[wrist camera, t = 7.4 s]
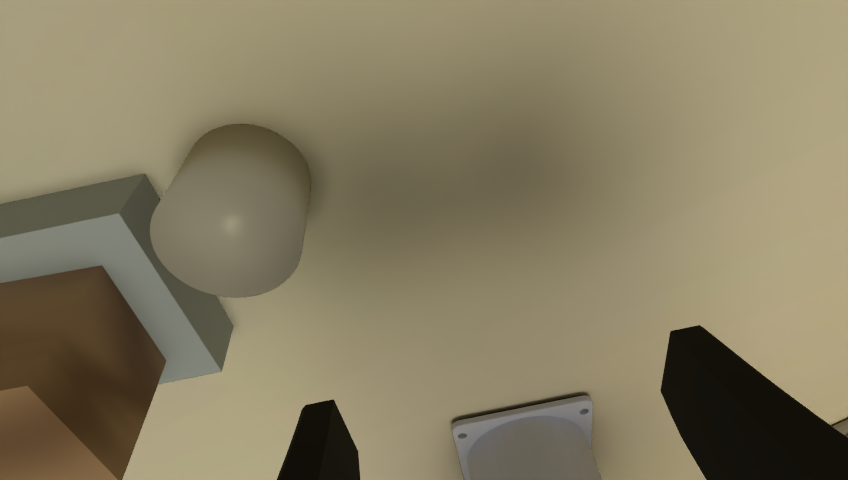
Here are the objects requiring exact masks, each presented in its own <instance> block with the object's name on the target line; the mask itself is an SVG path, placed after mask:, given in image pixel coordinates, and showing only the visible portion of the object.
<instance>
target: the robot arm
mask: <svg viewBox="0 0 848 480" xmlns="http://www.w3.org/2000/svg"><path fill="white" fill-rule="evenodd" d="M661 393H662V395H663V397H664V400H665V402H666V404H667V407H668V409H669V411H670V413H671V416H672V418H673V420H674V422H675V424H676V426H677V429H678V431H679V433H680V435H681V437H682V439H683V441H684V442H685V444H686V446H687V448H688V449H689V451H690V453H691V454H692V456H693V458H694V459H695V461H696V463H697V464H698V466H699V468H700V470H701V471H702V473H703V475H704V476H705V478H706V480H848V437H846V436H845V435H844V434H842V433H841V432H839V431H838V430H836V429H835V428H833V427H832V426H831V425H829V424H828V423H826V422H825V421H824V420H822V419H821V418H819V417H818V416H817V415H815V414H814V413H813V412H811V411H810V410H809V409H807V408H806V407H804V406H803V405H802V404H800V403H799V402H798V401H796V400H795V399H794V398H792V397H791V396H790V395H788V394H787V393H786V392H784V391H783V390H782V389H780V388H779V387H778V386H776V385H775V384H774V383H772V382H771V381H770V380H769V379H767V378H766V377H765V376H763V375H762V374H761V373H760V372H758V371H757V370H756V369H754V368H753V367H752V366H751V365H749V364H748V363H747V362H746V361H744V360H743V359H742V358H741V357H739V356H738V355H737V354H735V353H734V352H733V351H732V350H730V349H729V348H728V347H727V346H726V345H724V344H723V343H722V342H721V341H719V340H718V339H717V338H716V337H714V336H713V335H712V334H711V333H709V332H708V331H707V330H706V329H704V328H703V327H701V326H700V325H699V326H694V327H689V328H684V329H679V330H674V331H671V332H670V338H669V344H668V350H667V356H666V362H665V368H664V374H663V380H662V386H661ZM592 414H593V403H592V400H591V398H590V397H589V396H585V395H584V396H578V397H573V398H568V399H563V400H558V401H553V402H548V403H543V404H538V405H533V406H528V407H523V408H518V409H513V410H508V411H503V412H498V413H493V414H488V415H483V416H478V417H473V418H468V419H463V420H459V421H456V422H454V423H453V424H452V432H453V436H454V440H455V444H456V448H457V452H458V456H459V460H460V464H461V468H462V472H463V476H464V480H602V477H601V475H600V472H599V470H598V467H597V465H596V462H595V460H594V457H593V455H592V452H591V439H592ZM277 480H360V471H359V458H358V450H357V448H356V446H355V444H354V442H353V440H352V438H351V435H350V433H349V431H348V429H347V427H346V425H345V423H344V421H343V418H342V416H341V414H340V412H339V410H338V408H337V406H336V403H335V401H334V399H333V400H329V401H324V402H319V403H314V404H309V405H305V407H304V408H303V409H302V411H301V414H300V417H299V421H298V424H297V426H296V429H295V432H294V435H293V438H292V441H291V444H290V446H289V449H288V452H287V455H286V457H285V460H284V462H283V465H282V468H281V470H280V473H279V476H278V478H277Z"/></svg>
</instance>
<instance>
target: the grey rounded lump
mask: <svg viewBox="0 0 848 480" xmlns="http://www.w3.org/2000/svg"><path fill="white" fill-rule="evenodd" d="M310 191H311V177H310V172H309V169H308V166H307V164H306V161H305V160H304V158H303V156H302V155H301V153H300V152H299V151H298V149H297V148H296V147H295V146H294V145H293V144H292V143H291V142H289V141H288V140H287V139H286V138H284V137H282V136H281V135H279V134H278V133H276V132H273V131H271V130H269V129H266V128H263V127H260V126H255V125H249V124H232V125H226V126H222V127H219V128H216V129H214V130H211V131H210V132H208V133H206V134H205V135H204V136H202V137H201V138H200V139H199V140H198V141H197V142H196V143H195V145H194V146H193V148H192V149H191V151H190V153H189V154H188V156H187V158H186V159H185V161H184V162H183V164H182V166H181V167H180V169H179V171H178V172H177V174H176V176H175V177H174V179H173V181H172V182H171V184H170V186H169V187H168V189H167V190H166V192H165V194H164V195H163V197H162V199H161V200H160V202H159V204H158V205H157V207H156V209H155V210H154V213H153V215H152V218H151V223H150V237H151V242H152V245H153V249H154V251H155V253H156V255H157V257H158V258H159V260H160V261H161V263H162V264H163V265H164V266H165V267H166V269H167V270H168V271H169V272H171V273H172V274H173V275H174V276H175V277H176V278H178V279H179V280H180V281H182V282H184V283H185V284H187V285H189V286H190V287H193V288H195V289H197V290H199V291H202V292H205V293H208V294H212V295H216V296H223V297H234V298H237V297H249V296H255V295H259V294H263V293H265V292H268V291H270V290H272V289H274V288H276V287H278V286H279V285H281V284H282V283H284V282H285V281H286V280H287V279H288V278H289V277H290V276H291V275H292V273H293V272H294V271H295V269H296V267H297V266H298V263H299V261H300V257H301V253H302V246H303V239H304V232H305V225H306V218H307V212H308V205H309V198H310Z"/></svg>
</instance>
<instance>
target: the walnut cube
mask: <svg viewBox="0 0 848 480" xmlns="http://www.w3.org/2000/svg"><path fill="white" fill-rule="evenodd" d="M165 364H166V359H165V358H164V356H163V355H162V353H161V352H160V350H159V349H158V347H157V346H156V344H155V343H154V341H153V340H152V338H151V337H150V335H149V334H148V332H147V331H146V329H145V328H144V326H143V325H142V324H141V322H140V321H139V319H138V318H137V316H136V315H135V313H134V312H133V310H132V309H131V307H130V306H129V304H128V303H127V301H126V300H125V298H124V297H123V295H122V294H121V292H120V291H119V289H118V288H117V287H116V285H115V284H114V282H113V281H112V279H111V278H110V276H109V275H108V273H107V272H106V270H105V269H104V267H103V266H102V265H101V266H95V267H89V268H84V269H78V270H72V271H67V272H61V273H55V274H50V275H44V276H38V277H33V278H27V279H21V280H16V281H10V282H4V283H0V480H122V479H123V476H124V473H125V471H126V468H127V465H128V463H129V460H130V457H131V455H132V452H133V449H134V447H135V444H136V441H137V439H138V436H139V433H140V431H141V428H142V425H143V423H144V420H145V417H146V415H147V412H148V409H149V407H150V404H151V401H152V399H153V396H154V393H155V391H156V388H157V385H158V383H159V380H160V377H161V375H162V372H163V369H164V367H165Z"/></svg>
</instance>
